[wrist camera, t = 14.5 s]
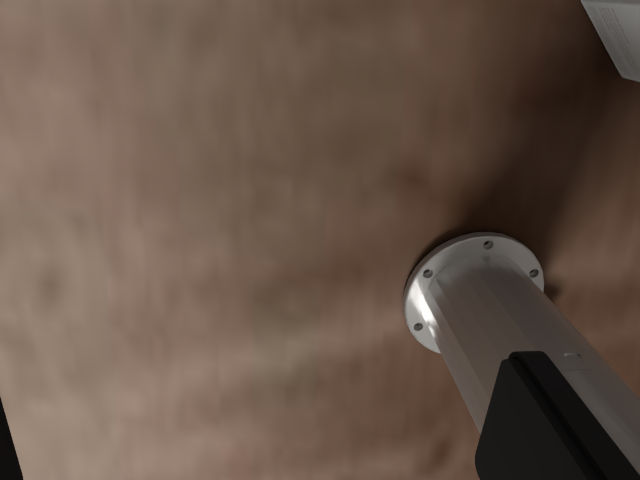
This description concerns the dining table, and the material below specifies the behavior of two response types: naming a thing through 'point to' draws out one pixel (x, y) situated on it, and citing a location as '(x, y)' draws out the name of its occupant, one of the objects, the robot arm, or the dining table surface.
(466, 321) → the robot arm
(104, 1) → the dining table surface
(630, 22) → the supplement box
